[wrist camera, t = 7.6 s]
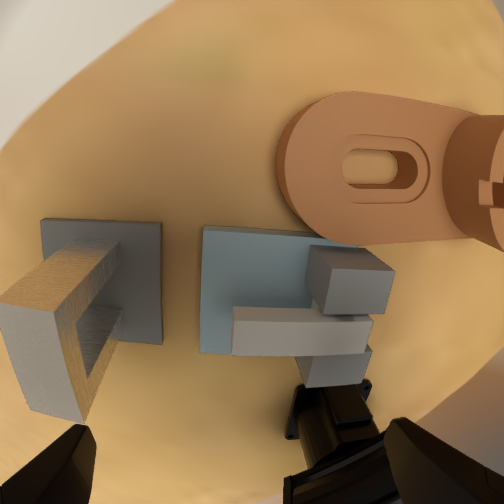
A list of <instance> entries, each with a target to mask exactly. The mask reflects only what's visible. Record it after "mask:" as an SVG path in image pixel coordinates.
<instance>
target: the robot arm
mask: <svg viewBox="0 0 504 504" xmlns="http://www.w3.org/2000/svg"><path fill="white" fill-rule="evenodd" d="M365 386H366V387H365ZM371 388H372V384H371V382H370V381H369V380H364V381H362V383H360V384H350V385H339V386H327V387H311V388H306V387H305V385H301V386H299V387H297V388H296V391H295V395H294V399H293V403H292V407H291V411H290V415H289V418H288V422H287V426H286V430H285V438H286V439H287V440H294V439H300V442H301V446H302V449H303V453H304V456H305V460H306V463H307V467H308V470H305V471H303V472H301V473H298V474H296V475H293V476H291V475H290V476H288V477H285V478H284V487H283V504H504V476H502V475H500V474H498V473H496V472H494V471H492V470H491V469H489V468H487V467H484V466H483V465H482V464H480V463H478V462H477V461H475V460H474V459H472V458H470V457H468V456H467V455H465V454H463V453H462V452H460V451H458V450H457V449H455V448H453V447H452V446H450V445H448V444H447V443H445V442H444V441H442V440H441V439H439V438H437V437H436V436H434V435H432V434H430V433H429V432H428V431H426V430H425V429H423V428H421V427H420V426H418V425H417V424H415V423H414V422H412V421H410V420H409V419H407V418H406V417H400V418H395V419H393V420H392V421H391V422H390V425H389V427H388V428H386V429H387V430H385V431H383V432H382V433H380V432H379V430H378V428H377V426H376V424H375V422H374V420H373V419H372V418H373V415H372V413H371V412H370V410H369V408H368V406H367V404H366V400H367V398H368V395H369V393H370V391H371ZM301 391H303V392H301ZM96 449H97V447H96V442H95V439H94V437H93V435H92V433H91V430H90V428H89V427H88V426H86V425H81V424H75V425H73V426H72V427H71V428H69V429H68V430H67V431H66V432H65V433H64V434H62V435H61V436H60V437H59V438H58V439H56V440H55V441H54V442H53V443H52V444H50V445H49V446H48V447H47V448H46V449H44V450H43V451H42V452H41V453H40V454H38V455H37V456H36V457H35V458H34V459H32V460H31V461H30V462H29V463H28V464H26V465H25V466H24V467H23V468H21V469H20V470H19V471H18V472H17V473H15V474H14V475H13V476H12V477H11V478H9V479H8V480H7V481H6V482H4V483H3V484H2V487H1V486H0V504H88V503H89V499H90V494H91V489H92V481H93V472H94V464H95V457H96Z"/></svg>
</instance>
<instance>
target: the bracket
mask: <svg viewBox="0 0 504 504" xmlns="http://www.w3.org/2000/svg"><path fill="white" fill-rule="evenodd" d="M353 149H375V150H387V151H389V152H391V153H392V154H393V155H394V156H395V157H396V159H397V162H398V173H397V176H396V178H395V179H394V180H393V181H392V182H390V183H388V184H347V183H346V181H345V180H344V178H343V176H342V172H341V165H342V161H343V159H344V157H345V155H346V154H347V153H348V152H350V151H351V150H353ZM276 174H277V180H278V184H279V187H280V190H281V193H282V195H283V197H284V199H285V201H286V202H287V204H288V205H289V207H290V208H291V209H292V211H293V212H294V213H295V214H296V215H297V216H298V217H299V218H300V219H301V220H302V221H304V222H305V223H306V224H307V225H308V226H309V227H310V228H312V229H313V230H314V231H315V232H316V233H318V234H320V235H321V236H323V237H324V238H326V239H328V240H331V241H333V242H336V243H340V244H344V245H373V244H388V243H403V242H419V241H434V240H449V239H464V238H475V239H477V240H479V241H481V242H483V243H485V244H488V245H490V246H492V247H494V248H496V249H498V250H500V251H502V252H504V115H478V114H475V113H471V112H467V111H463V110H459V109H455V108H451V107H447V106H442V105H438V104H433V103H428V102H423V101H418V100H413V99H407V98H401V97H395V96H388V95H381V94H374V93H366V92H354V91H351V92H342V93H337V94H334V95H331V96H328V97H326V98H324V99H322V100H319V101H317V102H315V103H313V104H311V105H309V106H307V107H306V108H304V109H303V110H301V111H300V112H299V113H298V114H297V115H296V116H295V117H294V118H293V119H292V120H291V121H290V123H289V124H288V125H287V127H286V129H285V130H284V132H283V134H282V136H281V139H280V142H279V145H278V149H277V154H276Z"/></svg>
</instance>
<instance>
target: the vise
mask: <svg viewBox="0 0 504 504" xmlns="http://www.w3.org/2000/svg"><path fill="white" fill-rule="evenodd" d="M394 275H395V271H394V270H393V269H392V268H390V267H389V266H388V265H387V264H385V263H384V262H383V261H381V260H380V259H379V258H377V257H376V256H375V255H373V254H372V253H371V252H369V251H368V250H367V249H365V248H358V245H344V244H340V243H336V242H333V241H331V240H328V239H326V238H324V237H323V236H321V235H320V234H318V233H310V232H297V231H284V230H270V229H255V228H240V227H225V226H209V225H204V230H203V248H202V271H201V299H200V346H199V353H213V354H232V356H295V359H296V362H297V365H298V367H299V370H300V373H301V376H302V379H303V381H304V384H305V387H306V388H311V387H327V386H339V385H350V384H360V383H362V380H363V377H364V374H365V372H366V369H367V366H368V363H369V360H370V357H371V354H372V350H371V348H370V347H369V346H368V344H367V341H368V338H369V335H370V331H371V328H372V325H373V320H372V319H371V318H370V316H369V315H368V314H384V312H385V309H386V305H387V302H388V298H389V294H390V291H391V287H392V283H393V279H394Z"/></svg>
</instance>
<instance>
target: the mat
mask: <svg viewBox="0 0 504 504" xmlns="http://www.w3.org/2000/svg"><path fill="white" fill-rule="evenodd" d="M40 223H41V237H42V247H43V257H44V261H45V260H46V259H47V258H49V257H50V256H51V255H53V254H54V253H55V252H57V251H58V250H60V249H61V248H62V247H64V246H65V245H67V244H68V243H69V242H71V241H72V240H74V239H90V240H107V241H120V265H119V266H118V267H117V269H116V270H115V271H114V273H113V274H112V275H111V276H110V278H109V279H108V280H107V282H106V283H105V284H104V286H103V287H102V288H101V290H100V291H99V292H98V293H97V295H96V296H95V298H94V299H93V300H92V302H91V303H90V304H89V305H95V306H104V307H113V308H123V311H124V322H125V329H124V331H123V333H122V335H121V337H120V340H119V341H126V342H136V343H146V344H157V345H162V344H163V319H162V284H161V233H162V223H154V222H133V221H110V220H85V219H55V218H44V219H42V220H40Z"/></svg>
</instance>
